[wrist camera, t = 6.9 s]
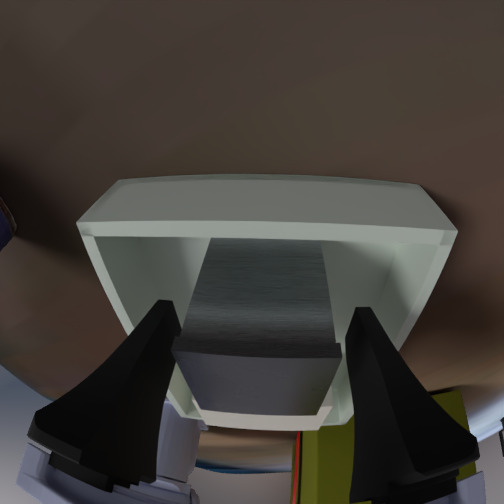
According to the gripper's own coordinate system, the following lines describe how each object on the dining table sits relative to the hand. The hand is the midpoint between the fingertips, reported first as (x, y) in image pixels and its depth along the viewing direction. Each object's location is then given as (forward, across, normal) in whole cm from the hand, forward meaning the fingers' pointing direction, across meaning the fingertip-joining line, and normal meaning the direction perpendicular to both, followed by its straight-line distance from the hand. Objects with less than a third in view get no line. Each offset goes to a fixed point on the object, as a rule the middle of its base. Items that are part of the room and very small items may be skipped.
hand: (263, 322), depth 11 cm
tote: (+3, 0, +4) cm, 6 cm away
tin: (+3, 0, 0) cm, 3 cm away
